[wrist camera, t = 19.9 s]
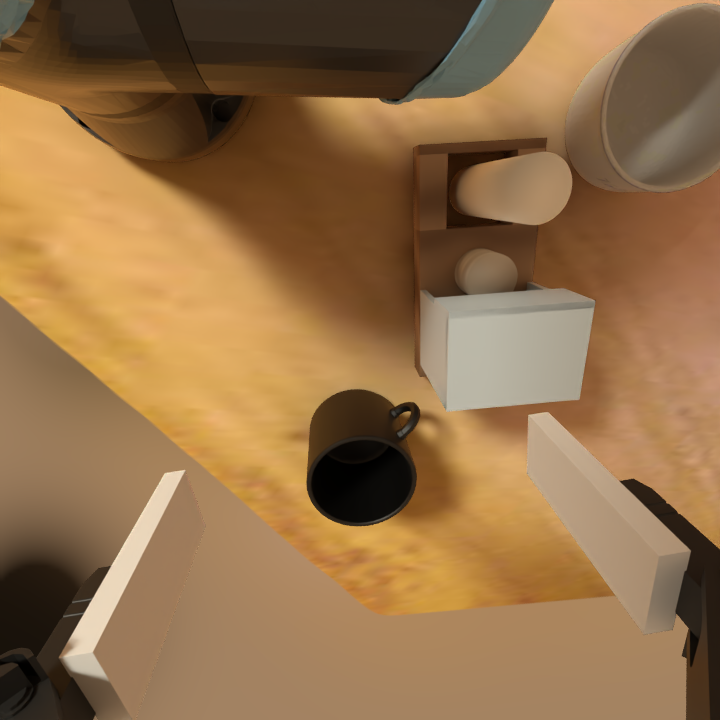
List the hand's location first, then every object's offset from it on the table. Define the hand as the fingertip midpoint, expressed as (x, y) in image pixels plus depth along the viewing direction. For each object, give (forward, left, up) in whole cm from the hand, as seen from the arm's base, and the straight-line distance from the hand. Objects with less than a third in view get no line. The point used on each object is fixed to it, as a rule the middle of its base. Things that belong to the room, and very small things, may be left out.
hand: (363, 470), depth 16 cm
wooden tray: (-3, +12, -24) cm, 27 cm away
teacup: (-15, +25, -25) cm, 38 cm away
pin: (-9, +12, -24) cm, 29 cm away
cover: (+1, +12, -22) cm, 25 cm away
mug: (+12, +2, -24) cm, 28 cm away
